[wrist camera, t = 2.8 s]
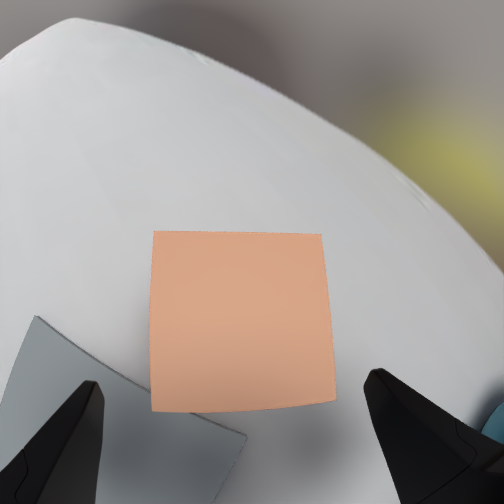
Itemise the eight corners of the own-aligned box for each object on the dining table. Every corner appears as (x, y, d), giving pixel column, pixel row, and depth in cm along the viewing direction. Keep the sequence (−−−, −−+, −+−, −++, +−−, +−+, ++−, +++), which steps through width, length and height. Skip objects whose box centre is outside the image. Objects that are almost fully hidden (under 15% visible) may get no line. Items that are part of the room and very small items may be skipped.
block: (262, 378, 17) (336, 400, 7) (182, 380, 17) (152, 411, 6) (258, 301, 19) (321, 234, 9) (180, 302, 18) (153, 231, 8)
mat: (141, 604, 8) (141, 607, 7) (-16, 508, 8) (-19, 510, 7) (246, 434, 16) (247, 437, 15) (38, 316, 16) (34, 315, 16)
